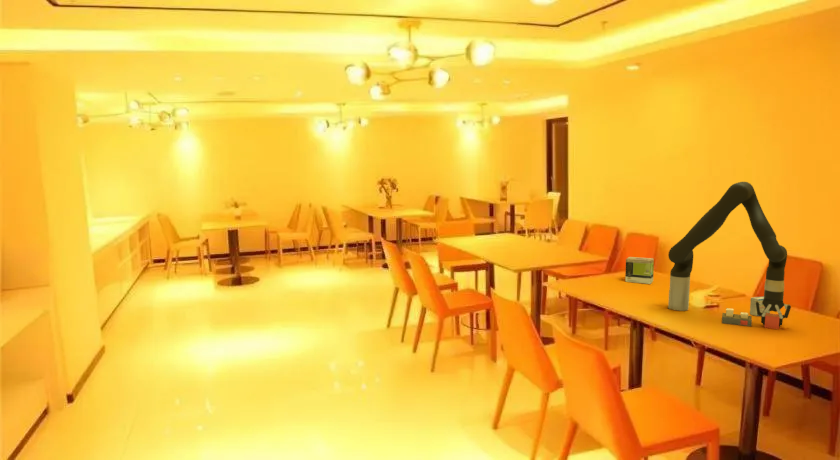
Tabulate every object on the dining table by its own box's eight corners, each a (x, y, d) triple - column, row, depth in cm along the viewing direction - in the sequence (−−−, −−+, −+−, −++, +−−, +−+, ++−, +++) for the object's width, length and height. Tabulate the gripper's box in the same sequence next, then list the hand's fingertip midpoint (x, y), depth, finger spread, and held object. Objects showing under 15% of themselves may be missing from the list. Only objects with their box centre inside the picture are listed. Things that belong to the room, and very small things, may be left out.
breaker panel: (721, 323, 264) (722, 317, 263) (722, 318, 271) (722, 312, 271) (751, 326, 258) (751, 320, 258) (750, 322, 265) (751, 315, 265)
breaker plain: (725, 318, 265) (726, 309, 265) (725, 317, 268) (726, 308, 267) (732, 319, 264) (733, 310, 263) (732, 318, 266) (733, 308, 266)
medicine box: (756, 316, 274) (758, 299, 273) (749, 314, 278) (750, 297, 277) (769, 315, 276) (771, 298, 275) (762, 312, 280) (763, 295, 279)
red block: (764, 327, 257) (765, 315, 256) (764, 324, 261) (765, 312, 261) (778, 329, 254) (779, 317, 253) (777, 325, 259) (778, 314, 258)
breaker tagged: (740, 323, 262) (740, 313, 262) (740, 321, 265) (740, 312, 264) (747, 324, 261) (748, 314, 260) (747, 322, 264) (748, 313, 263)
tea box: (653, 281, 351) (654, 258, 349) (650, 284, 343) (651, 260, 341) (628, 278, 359) (629, 256, 357) (624, 281, 351) (625, 258, 349)
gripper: (755, 289, 256) (753, 325, 258) (793, 292, 249) (790, 329, 251) (755, 285, 262) (753, 321, 264) (792, 289, 255) (789, 325, 257)
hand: (771, 325), depth 258 cm, fingers open, 5 cm apart
